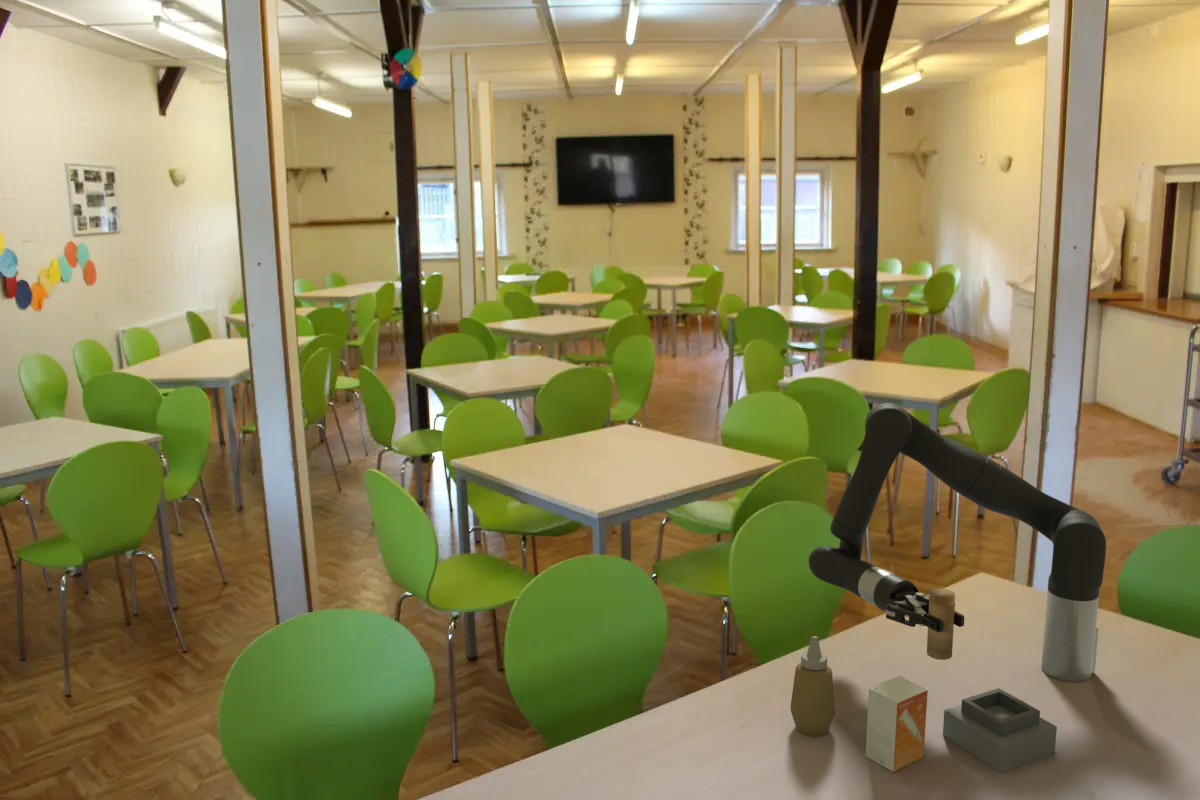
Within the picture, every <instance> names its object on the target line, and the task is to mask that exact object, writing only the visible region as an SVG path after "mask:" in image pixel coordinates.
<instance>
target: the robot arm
mask: <svg viewBox="0 0 1200 800" xmlns="http://www.w3.org/2000/svg"><path fill="white" fill-rule="evenodd" d="M864 422H865V423H864V431H865V432H864V433H865V434H864V439H863V443H862V447H861V452H860V456H859V458H858V461H857V464H856V467H855V469H854V472H853V474H852V476H851V478H850V480H849V482H848V484H847V486H846V488H845V490H844V492H843V493H842V496H841V499H840V501H839V503H838V506H837V508H836V510H835V513H834V516H833V518H832V521H831V524H830V530H829V531H830V532H831V534H832V535H833V536H834V537H835V538H837V539H839V546H838V547H834V546H829V545H828V546H827V545H822V546H818V547H816V548H814V549H813V550H812V551H811V553H810V554H809V557H808V566H809V570H810V572H811V573H812V574H813V576H815V577H816V578H817V579H819V580H820V581H823V582H824V583H828V584H829V585H833V586H836V587H839V588H841V589H844V590H847V591H849V592H851V593H852V594H854V595H855V596H857V597H859V598H861V599H863V600H865V601H866V602H867V603H869V604H870V605H871V606H874V607H875V608H877V609H879V610H881V611H883V612H884V613H885V618H886V619H888V620H890V621H893V622H896V623H900V624H902V625H905V626H908V627H911V628H915V627H916V626H917V625H919V626H920V627H927V629H928V628H930V629H932V630H935V631H937V632H938V633H940V632H943V627H944V623H943V621H942V620H940V619H938V618H936V617H934V616H932V615H930V614H929V594H926V593H922V592H920V591H919V590H918V588H917V586H916V585H915V584H914V582H912V581H911V580H909V579H906V578H905V577H903V576H900V575H898V574H896V573H895V572H892V571H889V570H887V569H885V568H881V567H879V566H876V565H875V564H873V563H870V562H868V561H866V560H863V559H862V552H863V544H864V543H863V542H864V535H865V534H866V530H867V529H868V526H869V523H870V521H871V519H872V516H873V513H874V510H875V507H876V505H877V502H878V499H879V496H880V494H881V491H882V488H883V485H884V483H885V481H886V478H887V476H888V475H889V471H890V470H891V469H892V466H893V464H894V462H895V460H896V459H897V458H898V455H899V454H902V455H904V456H906V457H908V458H910V459H912V460H914V461H915V462H917V463H919V464H920V465H921V466H923V467H924V468H926V469H927V471H928V472H930V473H932V474H933V475H934V476H935V477H936V478H937V479H939V481H941V482H943V483H944V484H945V485H946V486H948V487H949V488H950V489H951V490H953V491H954V492H956V493H958V494H959V495H961V496H963V497H964V498H966V499H968V500H969V501H971V502H972V503H974V504H976V505H978V506H980V507H982V508H984V509H986V510H989V511H992V512H994V513H997V514H999V515H1000V514H1001V515H1003V516H1006V517H1010V518H1014V519H1016V520H1018V521H1020V522H1023V523H1024V524H1026V525H1027V526H1029V527H1031V528H1032V529H1034V530H1035V531H1038V533H1040V534H1041V535H1043V536H1044V537H1046V538H1047V539H1048V540H1049V541H1050V542H1052V544H1053V545H1052V547H1053V548H1052V558H1051V559H1052V561H1051V568H1050V569H1051V570H1050V574H1049V575H1048V582H1047V594H1046V606H1045V620H1044V631H1043V643H1042V644H1043V645H1042V653H1041V654H1042V657H1041V670H1042V671H1043V672H1044V673H1045V674H1046V675H1048V676H1050V677H1053V678H1056V679H1058V680H1062V681H1066V682H1071V683H1072V682H1075V683H1077V682H1079V683H1080V682H1085V681H1089V680H1090V679H1091V678H1092V675H1093V674H1094V673H1095V672H1096V661H1097V650H1098V640H1099V628H1097V621H1098V610H1099V600H1100V599H1099V597H1100V588H1101V586H1102V584H1103V580H1104V571H1105V563H1106V555H1107V554H1106V553H1107V541H1106V536H1105V534H1104V532H1103V530H1102V527H1101V525H1100V524H1099V523H1098V521H1097V520H1096V518H1095V517H1093V516H1092V515H1091V514H1089V513H1087V512H1086V511H1083V510H1081V509H1079V508H1077V507H1075V506H1072V505H1070V504H1068V503H1065V502H1064V501H1061V500H1059V499H1057V498H1055V497H1053V496H1051V495H1048V494H1047V493H1045V492H1044V491H1041V490H1040V489H1038V488H1037V487H1035V486H1034V485H1032V484H1031V483H1030V482H1028V481H1027V480H1025V479H1024V478H1022V477H1020V476H1019V475H1018V474H1016V473H1014V472H1012V471H1011V470H1009V469H1008V468H1006V467H1005V466H1003V465H1001V464H1000V463H998V462H997V461H995V460H993V459H991V458H990V457H988V456H986V455H984V454H982V453H980V452H978V451H975V450H974V449H972V448H970V447H969V446H966V445H964V444H962V443H961V442H958V441H955V439H951V438H949V437H946V436H944V435H943V434H941V433H939V432H937V431H936V430H934V429H933V428H930V426H928V425H927V424H925V423H923V422H922V421H921V420H919V419H918V418H917V417H915V416H914V415H913V414H911V413H909V412H908V411H907V410H906V409H905V408H903V407H902V406H901V405H900V404H899V405H898V404H896V403H892V402H885V403H879V404H877V405H875V406H874V407H872V408H871V409H870V410H869V412H868V413H867V415H866V418H865V421H864ZM955 609H956V607H955V608H954V626H957V627H958V628H961V627H962V628H963V627H964V626H965V616H964V614H962V613H960V612H958V611H957V610H955Z"/></svg>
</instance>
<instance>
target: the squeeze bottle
mask: <svg viewBox="0 0 1200 800" xmlns="http://www.w3.org/2000/svg"><path fill="white" fill-rule="evenodd" d="M800 656H801V657H800V663H798V664H797V665H796V666H795V668H794V669H795V670H794V678H793V683H792V684H793V686H792V692H791V693H792V694H791V698H790V699H791V700H790V712H791V715H792V718H793V721H794V725H795V728H796V729H797V731H798V732H800V733H802V734H803V735H805V736H811V737H818V736H819V737H820V736H823V735H826V734H827V733H828V731H829V730H830V727H831V726H832V725H831V724H832V723H833V720H834V717H835V716H836V706H835V694H834V693H835V691H834V679H833V669H832V668H831V667H830V666H829V665H828V656H827V654H825V653H824V652H822V651H821V646H820V641H819V637H818V636H816V635H815V636H811V638H810V641H809V646H808V649H807V651H804V652H802V653H801V655H800Z"/></svg>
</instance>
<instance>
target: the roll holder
mask: <svg viewBox="0 0 1200 800" xmlns="http://www.w3.org/2000/svg"><path fill="white" fill-rule="evenodd" d="M943 712H944V713H943V723H942V724H943V725H942V726H943V727H942V729H943V730H942V736H943V737H945V738H947V740H950V741H951V742H953V743H954V744H956V745H957V746H959V747H960V748H961V749H963V750H965V751H966V752H968V753H969V754H971V755H973V756H974V757H976V758H977V759H978V760H980V761H982V762H984V763H985V764H986V765H988V766H989V767H991V768H992V769H994V770H996V771H997V772H998V773H1003V772H1005V771H1008V770H1012V769H1014V768H1017V767H1020V766H1023V765H1025V764H1027V763H1030V762H1033V761H1036V760H1039V759H1042V758H1044V757H1048V756H1050V755H1053V754H1055V753H1056V743H1057V732H1058V727H1057V726H1056V725H1054V723H1051V722H1049V721H1047V720H1046V719H1044V718H1042V717H1041V710H1039V709H1037V708H1036V707H1034V706H1032V705H1031V704H1029V703H1027V702H1025V701H1023V700H1022V699H1020V698H1018V697H1016V696H1014V695H1012V694H1010V693H1009V692H1007V691H1005V690H1003V689H1002V688H999V687H998V688H996V689H995V688H994V689H991V690H988V691H985V692H983V693H982V692H981V693H979V694H975V695H972V696H969V697H966V698H962V699H961V704H958V705H955V706H953V707H948V708H946V709H944V711H943Z"/></svg>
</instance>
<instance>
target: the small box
mask: <svg viewBox="0 0 1200 800" xmlns="http://www.w3.org/2000/svg"><path fill="white" fill-rule="evenodd" d="M928 692H929V691H928V689H926V687H923V686H921V685H919V684H916V683H915V682H913V681H911V680H909V679H907V678H905V677H903V676H901V675H898V676H896V677H893V678H890V679H889V680H885V681H882V682H881V683H879V684H877V685H876V684H875V686H872V687H869V688H868V697H867V700H868V702H867V720H866V721H867V722H866V723H867V724H866V740H865V741H866V743H865V745H866V746H865V756H866V758H868V759H870V760H871V761H873V762H875V763H877V764H879V765H880V766H882V767H884V768H885V769H887V770H888V771H891V772H892V773H895V772H897V771H899V770H900V769H903V768H905V767H907V766H909V765H911V764H912V763H914V762H917V761H919V760H921V759H923V758H924V756H925V755H924V754H925V753H924V752H925V741H926V740H925V739H926V738H925V737H926V725H927V724H926V723H927V707H928Z"/></svg>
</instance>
